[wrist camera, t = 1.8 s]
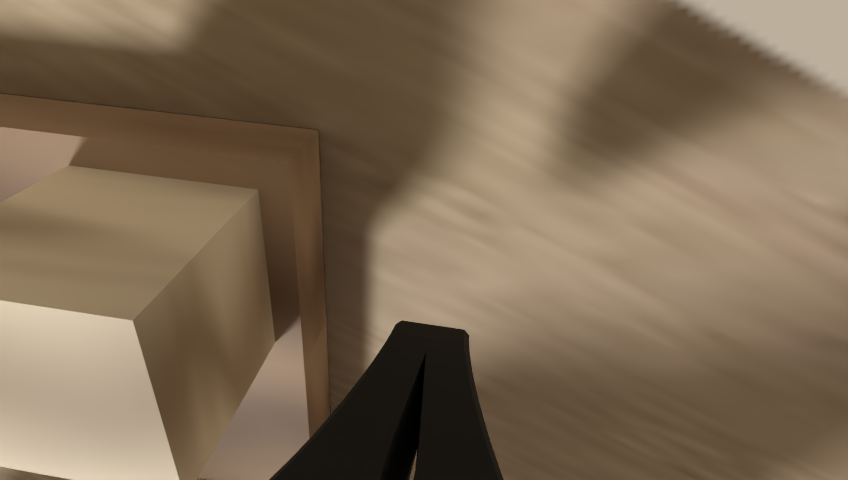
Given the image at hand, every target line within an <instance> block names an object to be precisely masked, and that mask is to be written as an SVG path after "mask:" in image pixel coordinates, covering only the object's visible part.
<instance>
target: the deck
mask: <svg viewBox="0 0 848 480" xmlns="http://www.w3.org/2000/svg"><path fill="white" fill-rule="evenodd" d="M68 165H69V166H77V167H85V168H93V169H101V170H109V171H117V172H125V173H132V174H140V175H148V176H156V177H164V178H172V179H180V180H188V181H196V182H203V183H211V184H219V185H227V186H235V187H243V188H251V189H258V192H259V201H260V210H261V219H262V228H263V237H264V246H265V255H266V264H267V273H268V282H269V291H270V300H271V309H272V318H273V327H274V336H275V344H274V345H273V347H272V349H271V351H270V353H269V354H268V356H267V358H266V360H265V361H264V363H263V365H262V367H261V368H260V370H259V372H258V374H257V375H256V377H255V379H254V381H253V382H252V384H251V386H250V388H249V390H248V391H247V393H246V395H245V397H244V398H243V400H242V402H241V404H240V405H239V407H238V409H237V411H236V412H235V414H234V416H233V418H232V419H231V421H230V423H229V425H228V427H227V428H226V430H225V432H224V434H223V435H222V437H221V439H220V441H219V442H218V444H217V446H216V448H215V449H214V451H213V453H212V455H211V457H210V458H209V460H208V462H207V464H206V465H205V467H204V469H203V471H202V472H201V474H200V476H199V478H204V479H209V480H269V479H270V478H271V477H272V476H273V475H274V474H275V473H276V472H277V471H278V470H279V469H280V468H281V467H282V466H283V465H284V464H285V463H287V462H288V461H289V460H290V459H291V457H292V456H293V455H294V454H295V453H296V452H297V451H298V450H299V449H300V448H301V447H302V446H303V445H304V444H305V443H306V442H307V441H308V440H309V439H310V438H311V437H312V435H313V434H314V433H315V432H316V431H317V430H318V429H319V428H320V426H321V425H322V424H323V423H324V422H325V421H326V420H327V418H328V417H329V416H330V393H329V370H328V346H327V322H326V298H325V275H324V251H323V227H322V203H321V180H320V156H319V132H318V130H313V129H304V128H295V127H287V126H278V125H269V124H261V123H252V122H243V121H234V120H226V119H217V118H208V117H200V116H191V115H182V114H174V113H165V112H156V111H148V110H139V109H130V108H122V107H113V106H104V105H95V104H87V103H78V102H69V101H61V100H52V99H43V98H35V97H26V96H17V95H9V94H0V202H2V201H4V200H6V199H8V198H10V197H11V196H13V195H15V194H17V193H19V192H21V191H22V190H24V189H26V188H28V187H30V186H32V185H33V184H35V183H37V182H39V181H41V180H43V179H44V178H46V177H48V176H50V175H52V174H54V173H55V172H57V171H59V170H61V169H63V168H65V167H66V166H68Z"/></svg>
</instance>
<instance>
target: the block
mask: <svg viewBox="0 0 848 480" xmlns="http://www.w3.org/2000/svg"><path fill="white" fill-rule="evenodd" d="M274 344H275V336H274V327H273V318H272V309H271V300H270V291H269V282H268V273H267V264H266V255H265V246H264V237H263V228H262V219H261V210H260V201H259V192H258V189H251V188H243V187H235V186H227V185H219V184H211V183H203V182H196V181H188V180H180V179H172V178H164V177H156V176H148V175H140V174H132V173H125V172H117V171H109V170H101V169H93V168H85V167H77V166H69V165H68V166H66V167H65V168H63V169H61V170H59V171H57V172H55V173H54V174H52V175H50V176H48V177H46V178H44V179H43V180H41V181H39V182H37V183H35V184H33V185H32V186H30V187H28V188H26V189H24V190H22V191H21V192H19V193H17V194H15V195H13V196H11V197H10V198H8V199H6V200H4V201H2V202H0V467H5V468H11V469H16V470H22V471H27V472H33V473H38V474H43V475H49V476H54V477H60V478H65V479H71V480H197V479H198V478H199V476H200V474H201V472H202V471H203V469H204V467H205V465H206V464H207V462H208V460H209V458H210V457H211V455H212V453H213V451H214V449H215V448H216V446H217V444H218V442H219V441H220V439H221V437H222V435H223V434H224V432H225V430H226V428H227V427H228V425H229V423H230V421H231V419H232V418H233V416H234V414H235V412H236V411H237V409H238V407H239V405H240V404H241V402H242V400H243V398H244V397H245V395H246V393H247V391H248V390H249V388H250V386H251V384H252V382H253V381H254V379H255V377H256V375H257V374H258V372H259V370H260V368H261V367H262V365H263V363H264V361H265V360H266V358H267V356H268V354H269V353H270V351H271V349H272V347H273V345H274Z"/></svg>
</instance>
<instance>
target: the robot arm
mask: <svg viewBox="0 0 848 480" xmlns="http://www.w3.org/2000/svg"><path fill="white" fill-rule="evenodd" d="M416 451H417V459H416V470H415V475H414V480H503V477H502V474H501V471H500V469H499V466H498V463H497V460H496V457H495V454H494V451H493V448H492V445H491V442H490V439H489V436H488V433H487V429H486V426H485V422H484V418H483V415H482V411H481V408H480V404H479V400H478V396H477V392H476V388H475V383H474V378H473V373H472V367H471V361H470V352H469V335H468V334H467V332H466V331H465V330H462V329H455V328H448V327H442V326H435V325H428V324H421V323H414V322H408V321H400V322H399V323H397V324H396V325H395V327H394V329H393V331H392V332H391V334H390V336H389V338H388V339H387V341H386V342H385V344H384V346H383V347H382V349H381V350H380V352H379V353H378V355H377V356H376V358H375V359H374V360H373V362H372V363H371V365H370V366H369V367H368V369H367V370H366V372H365V373H364V374H363V375H362V377H361V378H360V379H359V381H358V382H357V383H356V384H355V386H354V387H353V388H352V390H351V391H350V392H349V394H348V395H347V396H346V397H345V399H344V400H343V401H342V402H341V403H340V405H339V406H338V407H337V408H336V409H335V410H334V412H333V413H332V414H331V415H330V416H329V417H328V418H327V420H326V421H325V422H324V423H323V424H322V425H321V426H320V428H319V429H318V430H317V431H316V432H315V433H314V434H313V435H312V437H311V438H310V439H309V440H308V441H307V442H306V443H305V444H304V445H303V446H302V447H301V448H300V449H299V450H298V451H297V452H296V453H295V454H294V455H293V456H292V457H291V459H290V460H289V461H288V462H287V463H285V464H284V465H283V466H282V467H281V468H280V469H279V470H278V471H277V472H276V473H275V474H274V475H273V476H272V477H271V478H270V479H269V480H409V477H410V473H411V470H412V466H413V462H414V459H415V455H416Z"/></svg>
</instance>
